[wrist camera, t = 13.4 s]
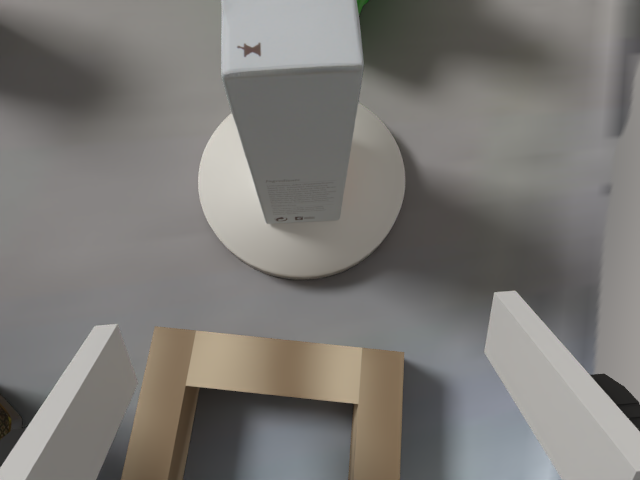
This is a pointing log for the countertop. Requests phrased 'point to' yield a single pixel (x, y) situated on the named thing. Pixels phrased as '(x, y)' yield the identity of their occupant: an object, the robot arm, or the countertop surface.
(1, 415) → the ceramic cup
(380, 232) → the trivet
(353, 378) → the block
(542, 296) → the countertop surface
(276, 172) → the skincare box
